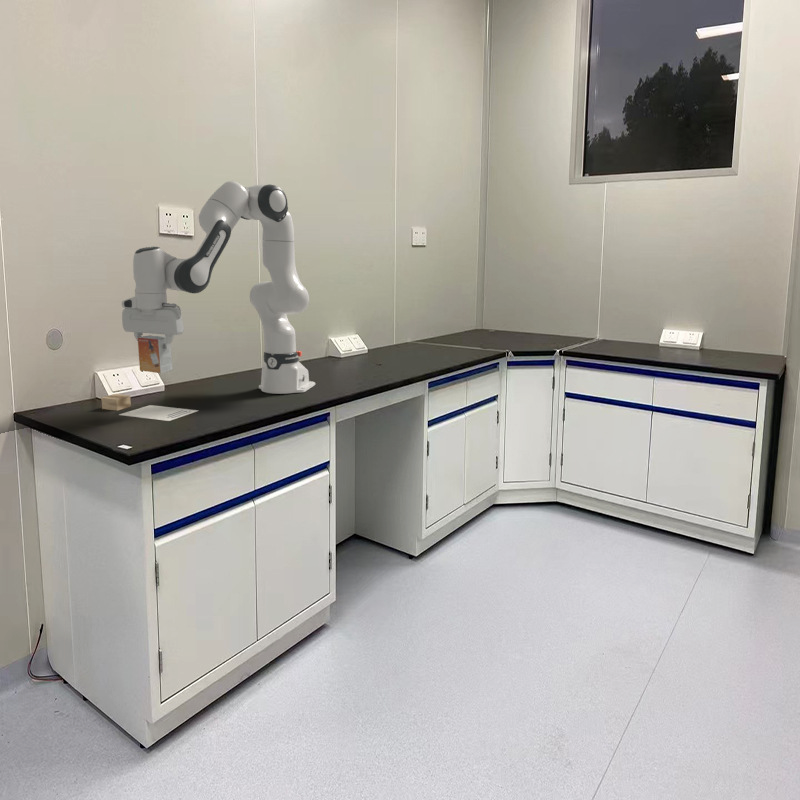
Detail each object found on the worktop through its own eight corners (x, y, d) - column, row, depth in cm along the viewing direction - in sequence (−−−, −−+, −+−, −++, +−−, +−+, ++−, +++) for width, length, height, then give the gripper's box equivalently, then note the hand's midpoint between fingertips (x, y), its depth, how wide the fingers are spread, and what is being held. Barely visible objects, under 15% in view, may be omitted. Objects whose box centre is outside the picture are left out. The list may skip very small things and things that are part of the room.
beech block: (116, 406, 213) (115, 394, 212) (131, 407, 211) (130, 395, 210) (102, 410, 208) (101, 397, 207) (117, 411, 206) (116, 399, 205)
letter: (150, 405, 213) (150, 404, 213) (198, 411, 207) (198, 410, 207) (118, 415, 201) (118, 414, 200) (168, 421, 194) (168, 420, 194)
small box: (139, 371, 200) (136, 337, 197) (152, 368, 205) (149, 334, 202) (160, 373, 197) (157, 338, 194) (173, 370, 202) (170, 336, 200)
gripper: (186, 303, 195) (189, 349, 199) (132, 300, 202) (135, 344, 205) (172, 304, 190) (175, 351, 193) (117, 301, 197) (120, 347, 200)
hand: (154, 348), depth 199 cm, fingers closed on small box, 8 cm apart
